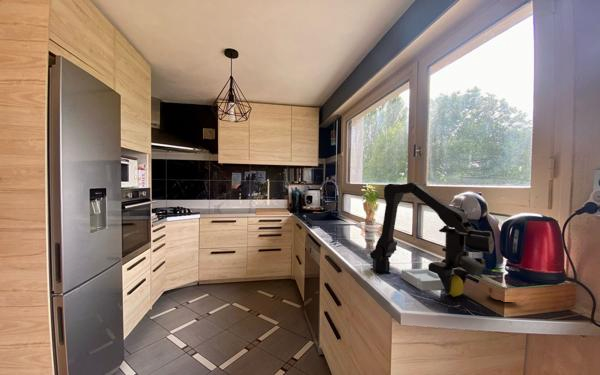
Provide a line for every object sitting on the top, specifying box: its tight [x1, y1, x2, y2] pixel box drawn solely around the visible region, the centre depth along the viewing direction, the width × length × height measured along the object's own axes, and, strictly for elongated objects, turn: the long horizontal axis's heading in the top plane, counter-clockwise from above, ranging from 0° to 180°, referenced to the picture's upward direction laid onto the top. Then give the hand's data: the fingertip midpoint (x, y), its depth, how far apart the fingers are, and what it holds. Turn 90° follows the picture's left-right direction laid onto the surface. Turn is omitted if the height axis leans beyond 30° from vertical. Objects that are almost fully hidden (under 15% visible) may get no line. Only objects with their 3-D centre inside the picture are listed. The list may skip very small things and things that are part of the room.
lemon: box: [448, 273, 464, 298], centre depth 82 cm, size 6×6×8 cm
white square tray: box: [401, 268, 445, 291], centre depth 93 cm, size 12×12×4 cm
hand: (453, 290), depth 82 cm, fingers closed on lemon, 5 cm apart
